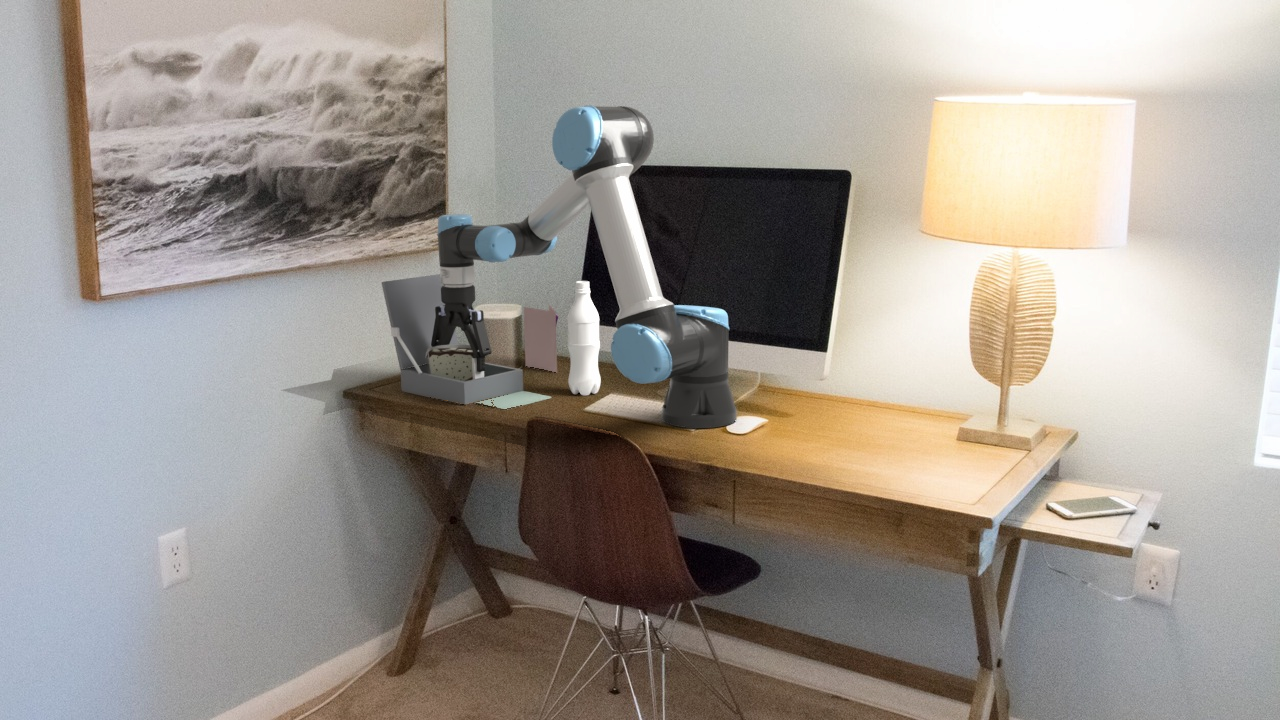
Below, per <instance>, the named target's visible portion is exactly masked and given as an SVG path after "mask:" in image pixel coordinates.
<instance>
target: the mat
mask: <svg viewBox="0 0 1280 720" xmlns="http://www.w3.org/2000/svg"><path fill="white" fill-rule="evenodd" d="M548 399H552V396H550V395H545V394H541V393H537V392H536V393H535V392H530V391H526V390H523V391H520V392H516V393H512V394H508V395H504V396H500V397H496V398H492V399H488V400H484V401H480V402H475V403H474V404H476V403H480V404H481V403H483V404H484V405H488V406H492V405H493V404H494V405H493V407H494V406H496V407H497V408H501V409H507V408H511V407H515V408H517V407H516V406H519V407H521V406H520V405H522V406H525V405H530V404H533V403H537V402H541V401H542V402H543V401H546V400H548ZM491 400H492V401H491ZM493 400H494V401H493ZM491 402H493V404H492V403H491ZM511 409H512V408H511ZM507 410H508V409H507Z"/></svg>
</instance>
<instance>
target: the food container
mask: <svg viewBox="0 0 1280 720" xmlns="http://www.w3.org/2000/svg"><path fill="white" fill-rule="evenodd" d="M478 352H479V350H478ZM473 356H474V354H473V351H472V349H471V347H470V344H464V343H463V344H461V343H460V344H459V343H458V344H452V345H440V346H435V347H431V348H428V349H427V352H426V357H425V358H427V357H428V360H429V363H428V364H429V366H430V372H431V374H432V375H436V376H441V377H446V378H451V379H455V380H460V381H469V380H473V372H472V357H473Z"/></svg>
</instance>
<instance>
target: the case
mask: <svg viewBox="0 0 1280 720" xmlns="http://www.w3.org/2000/svg"><path fill="white" fill-rule="evenodd" d="M380 283H381V287H382V293H383V296H384V300H385V305H386V310H387V315H388V319H389V323H390V336H391V337H392V338H393V341H394V342H393V343H394V347H395V352H396V357H397V361H398V365H399V369H400V385H401V386H400V387H401V392H404V393H409V394H413V395H418V396H422V397H426V398H430V397H431V398H430V399H434V398H436V399H435V400H438V399H442V400H441V401H443V400H448V401H453V402H458V403H462V404H469V403H473V402H477V401H481V400H485V399H489V398H494V397H498V396H503V395H507V394H512V393H516V392H520V391H524V373H523V369H520V368H515V367H510V366H505V365H501V364H495V363H490V362H485V371H484V377H482V378H478V379H473V380H469V381H460V380H455V379H451V378H446V377H441V376H436V375H432V374H431V372H430V366H429V360H428V357H427V358H425V357H426V352H427V349H428V348H431V347H432V346H431V342H432V336H433V329H434V323H435V317H436V314H435V307H437V306H443V305H445V304H444V303H442V301H441V287H442V286H444V285H443V284H441V281H440V273H439V274H432V275H424V276H423V275H422V276H417V277H416V276H415V277H409V278H402V279H400V278H399V279H394V280H393V279H392V280H386V281H382V282H380ZM458 340H459V339H458V336H457V331H456V329H455V331H454V334H453V336H452V339H451V341H450V344H449V345H452V344H459V341H458ZM437 341H438V340H437Z"/></svg>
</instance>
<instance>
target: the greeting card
mask: <svg viewBox="0 0 1280 720" xmlns="http://www.w3.org/2000/svg"><path fill="white" fill-rule="evenodd" d="M556 313H557V312H556V311H555V310H554V309H553V307H552V306H551V305H550V304H548V310H546V309H540V308H533V307H526V306H523V323H524V324H523V326H524V329H523V330H524V331H523V332H524V357H525V359H524V360H525V367H526V366H528V367H527V368H530V367H534V368H533V369H535V368H539V369H544V370H548V371H547V372H549V371H552V372H551V373H554V372H556V373H555V374H558V356H557V354H558V353H557V351H558V350H557V324H558V319H559V316H558V315H557V314H556ZM539 369H538V370H539ZM544 370H543V371H544Z"/></svg>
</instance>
